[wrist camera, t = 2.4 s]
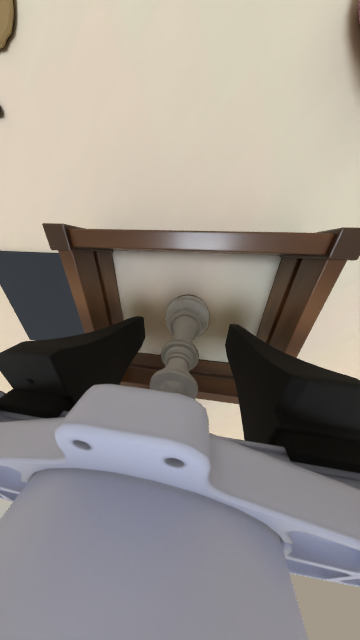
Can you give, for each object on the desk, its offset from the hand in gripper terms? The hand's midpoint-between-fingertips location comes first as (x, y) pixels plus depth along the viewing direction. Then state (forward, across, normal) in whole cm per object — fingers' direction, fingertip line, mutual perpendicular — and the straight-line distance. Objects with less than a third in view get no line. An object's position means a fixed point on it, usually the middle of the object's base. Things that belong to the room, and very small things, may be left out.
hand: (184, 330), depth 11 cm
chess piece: (+4, 0, 0) cm, 4 cm away
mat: (+3, +16, 0) cm, 16 cm away
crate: (+3, 0, 0) cm, 3 cm away
